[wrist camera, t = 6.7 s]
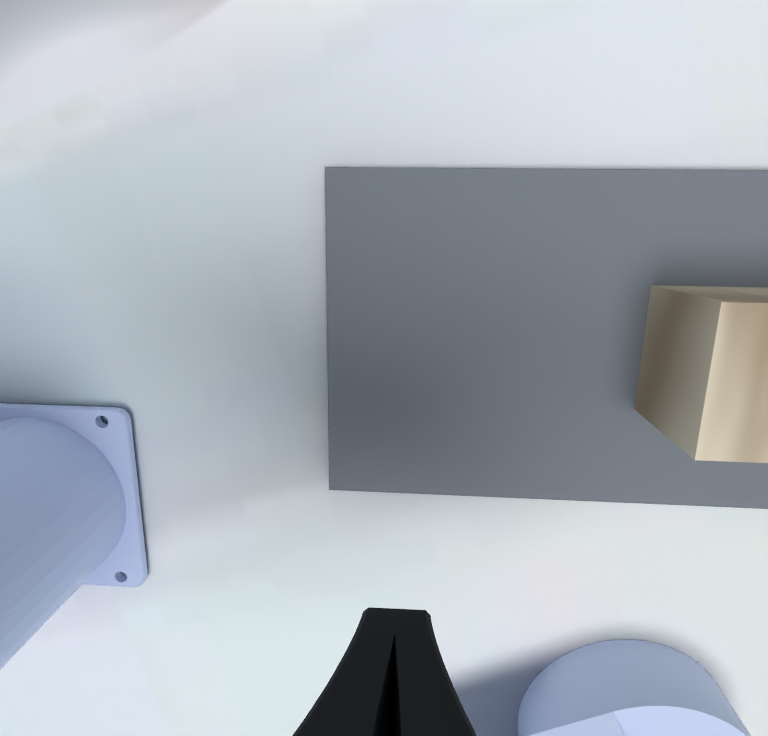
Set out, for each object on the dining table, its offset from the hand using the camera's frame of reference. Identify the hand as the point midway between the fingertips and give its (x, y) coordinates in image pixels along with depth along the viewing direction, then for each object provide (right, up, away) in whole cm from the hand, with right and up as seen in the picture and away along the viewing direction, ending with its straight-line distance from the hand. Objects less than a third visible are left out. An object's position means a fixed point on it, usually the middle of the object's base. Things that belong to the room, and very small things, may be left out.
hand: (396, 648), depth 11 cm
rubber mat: (+9, +7, +8) cm, 14 cm away
